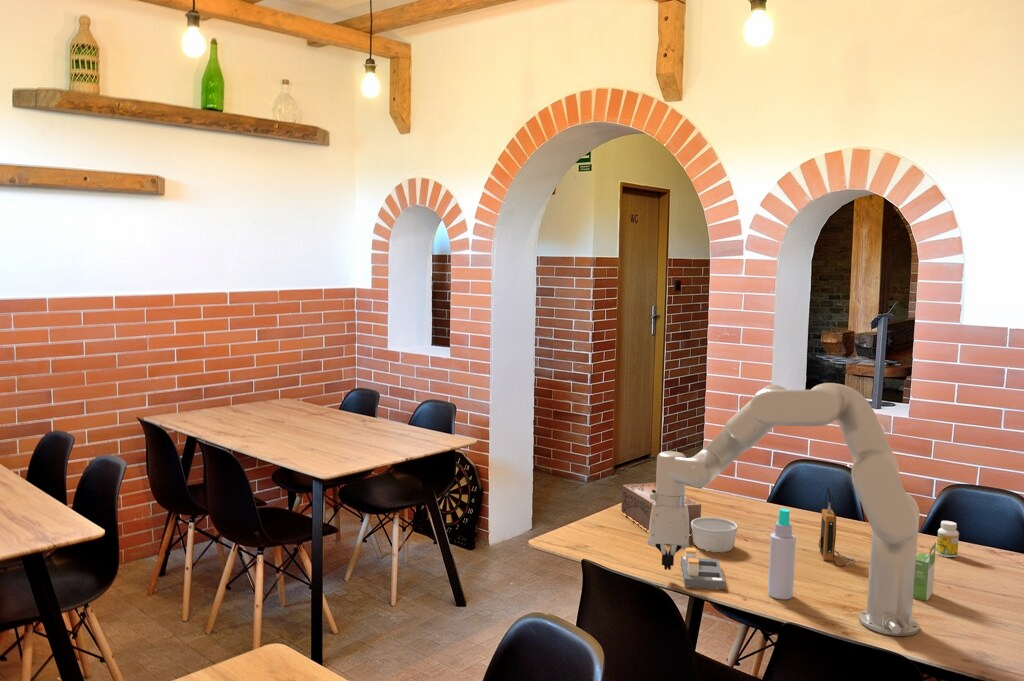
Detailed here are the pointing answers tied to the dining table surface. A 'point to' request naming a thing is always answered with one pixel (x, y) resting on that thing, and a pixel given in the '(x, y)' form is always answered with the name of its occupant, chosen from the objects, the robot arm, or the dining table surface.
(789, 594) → the spray bottle
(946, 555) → the supplement bottle
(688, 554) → the tab
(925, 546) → the dining table surface
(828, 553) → the multimeter
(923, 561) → the ink box
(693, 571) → the white upright block
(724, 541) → the ramekin
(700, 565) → the switch board
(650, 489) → the tissue box cover
